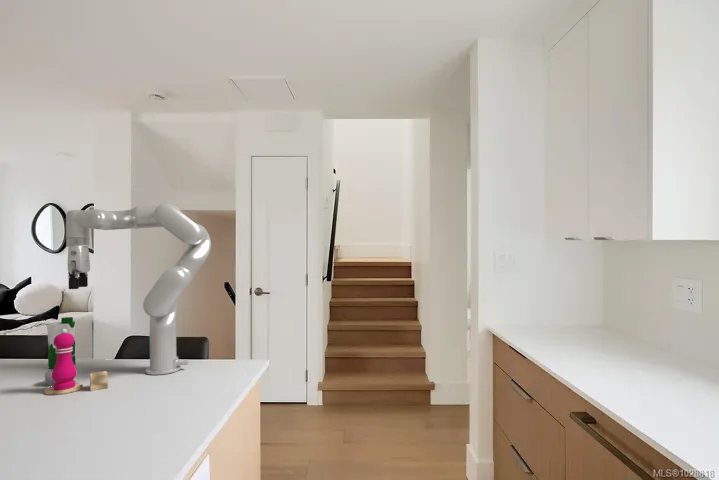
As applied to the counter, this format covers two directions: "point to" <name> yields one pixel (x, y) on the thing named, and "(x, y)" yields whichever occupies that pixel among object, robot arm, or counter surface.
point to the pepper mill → (64, 362)
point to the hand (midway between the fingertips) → (78, 287)
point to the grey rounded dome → (49, 378)
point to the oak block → (98, 381)
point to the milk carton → (55, 330)
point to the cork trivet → (59, 392)
